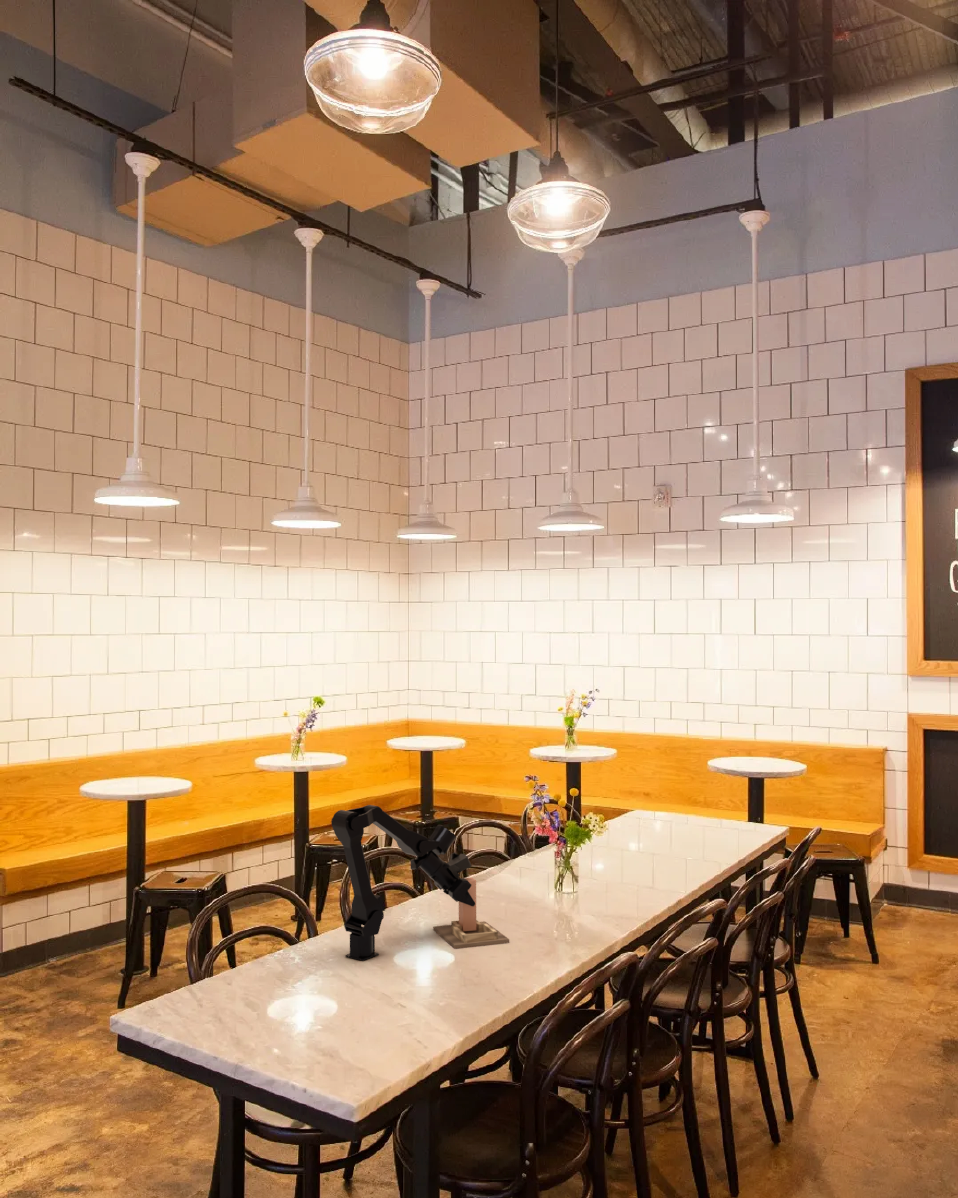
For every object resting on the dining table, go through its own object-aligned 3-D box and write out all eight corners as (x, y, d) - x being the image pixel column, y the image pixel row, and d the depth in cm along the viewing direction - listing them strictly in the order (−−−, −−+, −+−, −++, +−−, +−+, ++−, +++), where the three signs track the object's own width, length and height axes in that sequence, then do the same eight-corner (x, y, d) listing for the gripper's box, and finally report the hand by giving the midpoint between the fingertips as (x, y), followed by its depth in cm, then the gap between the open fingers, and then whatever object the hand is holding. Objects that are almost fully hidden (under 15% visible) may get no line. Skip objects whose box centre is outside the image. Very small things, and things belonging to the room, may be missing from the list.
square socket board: (509, 942, 279) (509, 931, 279) (454, 949, 274) (454, 937, 274) (484, 924, 298) (484, 914, 298) (433, 930, 293) (433, 919, 293)
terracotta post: (463, 931, 286) (462, 881, 286) (458, 928, 289) (458, 878, 290) (476, 930, 287) (476, 880, 288) (471, 926, 291) (471, 877, 292)
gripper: (464, 851, 279) (501, 888, 282) (444, 840, 297) (479, 875, 300) (437, 882, 276) (475, 920, 279) (418, 869, 294) (454, 904, 297)
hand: (471, 903), depth 289 cm, fingers closed on terracotta post, 4 cm apart
